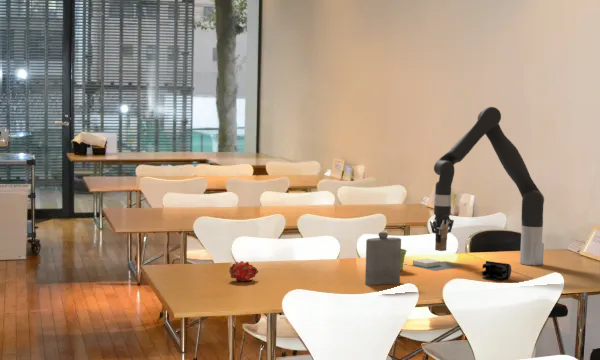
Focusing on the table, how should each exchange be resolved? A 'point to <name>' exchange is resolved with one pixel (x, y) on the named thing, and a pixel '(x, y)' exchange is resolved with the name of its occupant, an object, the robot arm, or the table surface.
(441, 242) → the walnut stick
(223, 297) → the table surface
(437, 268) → the mat
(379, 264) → the flask
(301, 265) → the table surface
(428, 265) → the tile
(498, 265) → the end cap
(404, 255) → the plant pot
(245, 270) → the dragon fruit
